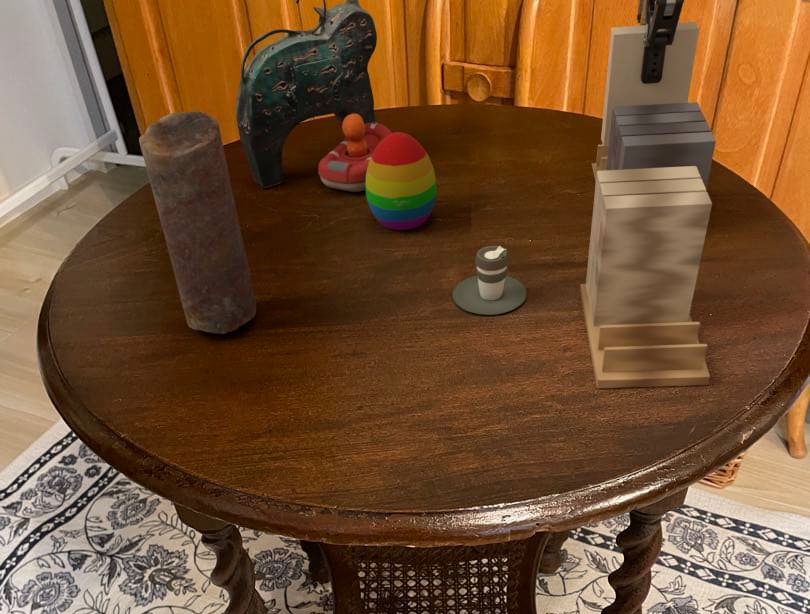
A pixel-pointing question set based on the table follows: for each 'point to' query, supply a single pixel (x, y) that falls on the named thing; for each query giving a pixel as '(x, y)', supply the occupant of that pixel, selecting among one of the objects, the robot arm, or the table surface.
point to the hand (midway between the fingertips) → (648, 76)
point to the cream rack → (645, 277)
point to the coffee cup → (490, 285)
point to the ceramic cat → (304, 83)
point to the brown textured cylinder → (199, 220)
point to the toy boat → (352, 155)
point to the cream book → (628, 65)
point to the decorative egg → (400, 182)
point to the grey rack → (658, 139)
